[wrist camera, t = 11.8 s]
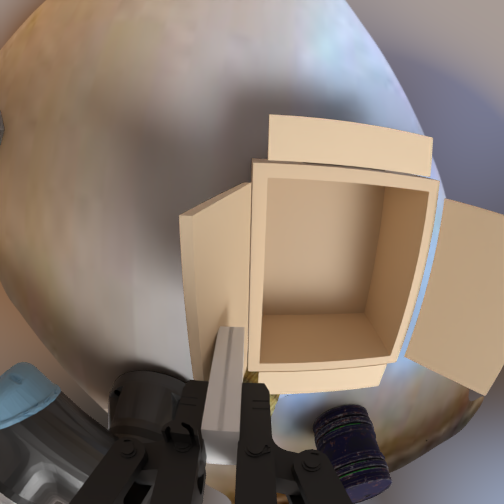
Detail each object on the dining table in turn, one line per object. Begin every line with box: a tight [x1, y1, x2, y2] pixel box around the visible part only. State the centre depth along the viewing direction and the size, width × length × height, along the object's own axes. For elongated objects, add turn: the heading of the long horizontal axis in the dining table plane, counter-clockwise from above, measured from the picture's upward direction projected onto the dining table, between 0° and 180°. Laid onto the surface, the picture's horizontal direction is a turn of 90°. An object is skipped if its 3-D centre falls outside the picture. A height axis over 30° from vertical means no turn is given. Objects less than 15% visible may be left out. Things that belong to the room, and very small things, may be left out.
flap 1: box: [179, 182, 251, 381], centre depth 17 cm, size 10×15×1 cm
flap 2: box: [404, 199, 504, 396], centre depth 18 cm, size 10×15×1 cm
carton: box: [248, 114, 440, 394], centre depth 27 cm, size 15×25×9 cm, turn 179°
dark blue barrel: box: [313, 405, 392, 504], centre depth 35 cm, size 10×10×15 cm
